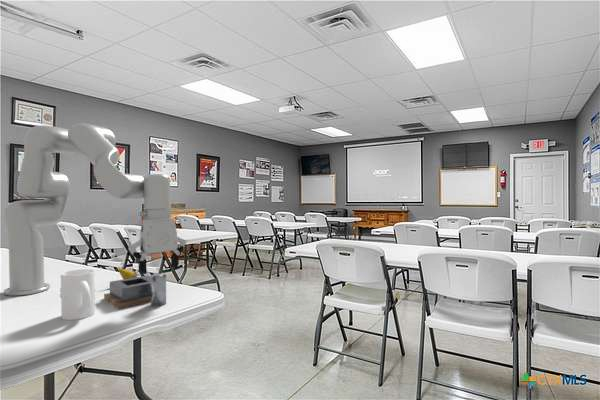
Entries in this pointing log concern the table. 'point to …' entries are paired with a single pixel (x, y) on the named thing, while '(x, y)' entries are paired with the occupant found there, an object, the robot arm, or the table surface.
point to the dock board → (125, 304)
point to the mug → (77, 294)
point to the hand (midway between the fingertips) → (159, 270)
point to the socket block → (131, 288)
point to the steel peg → (158, 289)
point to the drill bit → (127, 273)
